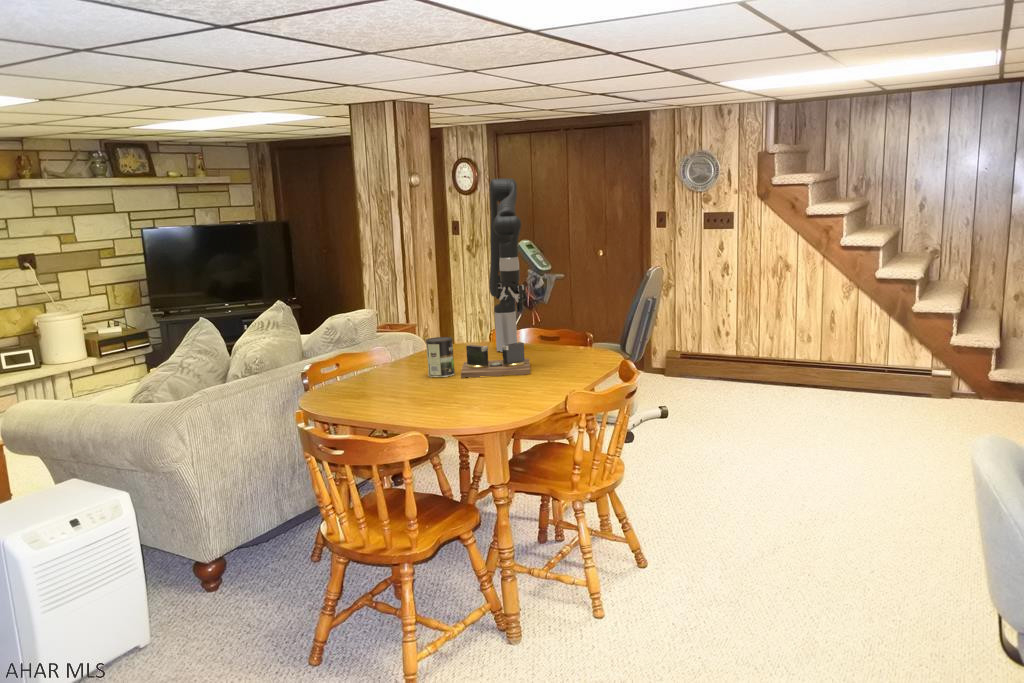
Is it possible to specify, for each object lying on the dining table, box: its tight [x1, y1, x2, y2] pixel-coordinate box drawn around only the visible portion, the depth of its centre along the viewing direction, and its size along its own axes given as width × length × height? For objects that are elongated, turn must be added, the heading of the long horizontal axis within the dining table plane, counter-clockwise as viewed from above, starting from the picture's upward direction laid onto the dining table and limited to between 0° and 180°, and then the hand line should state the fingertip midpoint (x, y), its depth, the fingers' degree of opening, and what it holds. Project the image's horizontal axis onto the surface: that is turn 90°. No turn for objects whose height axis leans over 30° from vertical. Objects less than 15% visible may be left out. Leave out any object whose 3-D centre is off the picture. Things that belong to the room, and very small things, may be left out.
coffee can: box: [425, 336, 456, 378], centre depth 311 cm, size 10×10×14 cm
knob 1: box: [465, 344, 489, 369], centre depth 314 cm, size 9×8×8 cm
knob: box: [502, 341, 526, 367], centre depth 314 cm, size 9×8×8 cm
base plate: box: [460, 358, 531, 379], centre depth 314 cm, size 22×26×3 cm
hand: (511, 310), depth 314 cm, fingers open, 8 cm apart
